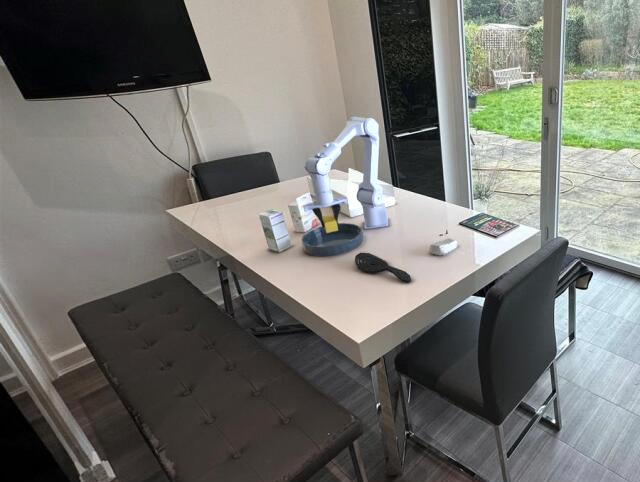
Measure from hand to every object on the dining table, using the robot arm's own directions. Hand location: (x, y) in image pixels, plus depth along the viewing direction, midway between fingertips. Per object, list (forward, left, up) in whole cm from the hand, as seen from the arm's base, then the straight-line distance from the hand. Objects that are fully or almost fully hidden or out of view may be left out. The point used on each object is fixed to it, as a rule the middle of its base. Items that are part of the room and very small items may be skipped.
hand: (330, 225), depth 151 cm
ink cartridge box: (+12, -21, -8) cm, 25 cm away
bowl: (0, -1, -8) cm, 8 cm away
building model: (-5, -51, -8) cm, 52 cm away
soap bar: (-39, +19, -8) cm, 44 cm away
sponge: (0, 0, -1) cm, 1 cm away
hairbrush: (-17, +27, -8) cm, 33 cm away
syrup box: (+19, -4, -8) cm, 21 cm away
